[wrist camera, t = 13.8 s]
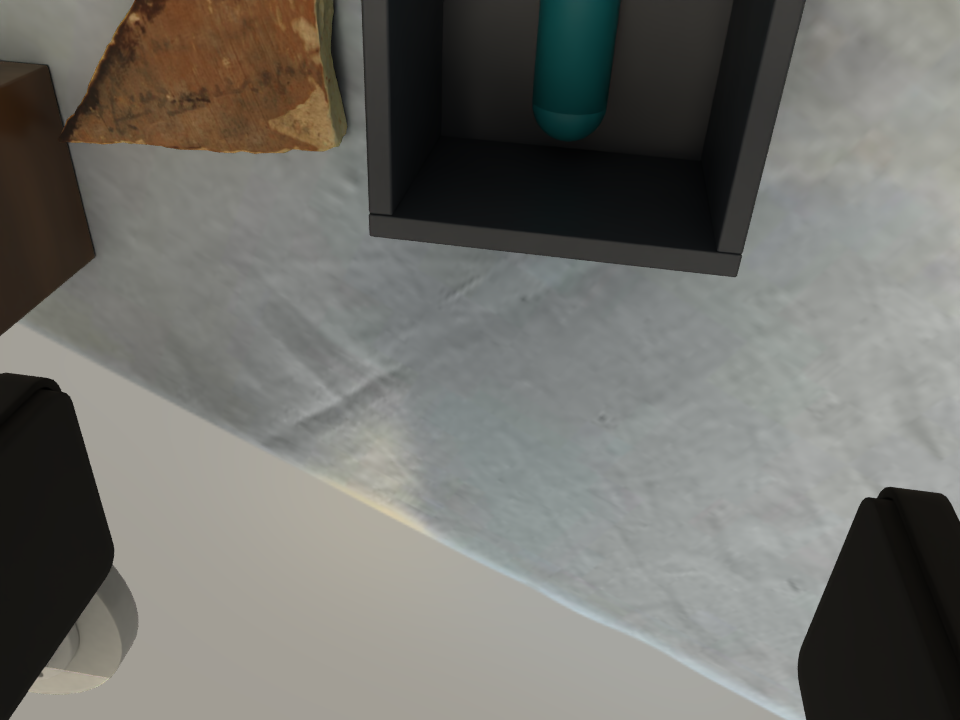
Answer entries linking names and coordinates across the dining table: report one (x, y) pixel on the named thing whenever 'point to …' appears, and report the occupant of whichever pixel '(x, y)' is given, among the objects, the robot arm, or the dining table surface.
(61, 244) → the stand
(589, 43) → the rod
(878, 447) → the dining table surface
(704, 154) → the bin
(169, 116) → the shard
